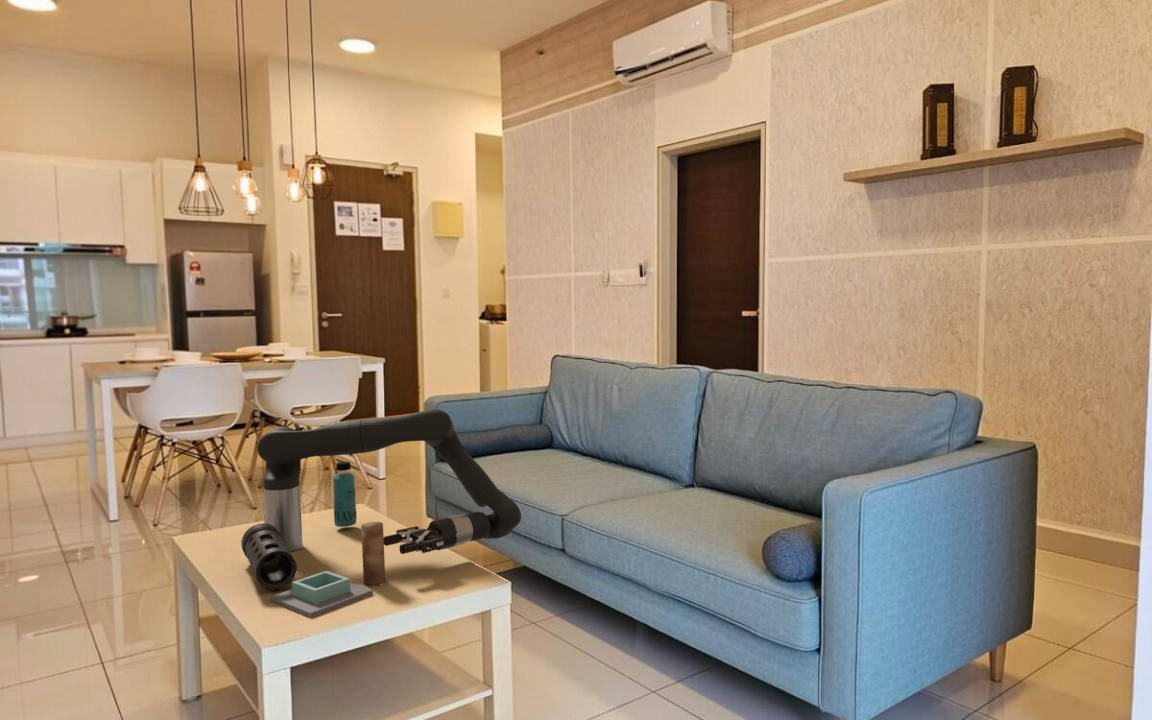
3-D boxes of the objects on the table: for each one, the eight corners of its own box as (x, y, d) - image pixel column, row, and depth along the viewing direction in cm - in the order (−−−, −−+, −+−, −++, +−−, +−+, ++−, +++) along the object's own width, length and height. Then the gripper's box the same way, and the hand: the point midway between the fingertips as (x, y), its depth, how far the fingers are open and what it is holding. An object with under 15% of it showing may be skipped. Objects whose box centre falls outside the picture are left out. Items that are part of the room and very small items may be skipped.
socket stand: (269, 601, 174) (269, 583, 174) (331, 580, 187) (330, 563, 186) (310, 617, 164) (309, 599, 164) (372, 594, 177) (372, 577, 176)
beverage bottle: (330, 531, 227) (327, 464, 225) (340, 525, 233) (337, 459, 232) (351, 532, 226) (348, 464, 224) (361, 525, 232) (358, 459, 231)
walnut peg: (359, 583, 184) (356, 525, 183) (376, 577, 188) (374, 520, 187) (372, 587, 181) (369, 529, 180) (389, 581, 185) (387, 523, 184)
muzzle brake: (255, 598, 177) (253, 553, 176) (241, 563, 201) (239, 524, 200) (299, 589, 181) (297, 546, 180) (280, 556, 206) (278, 518, 205)
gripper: (436, 511, 202) (378, 524, 192) (465, 523, 191) (405, 536, 181) (437, 540, 203) (379, 553, 193) (465, 553, 192) (406, 568, 182)
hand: (392, 545), depth 187 cm, fingers open, 8 cm apart
